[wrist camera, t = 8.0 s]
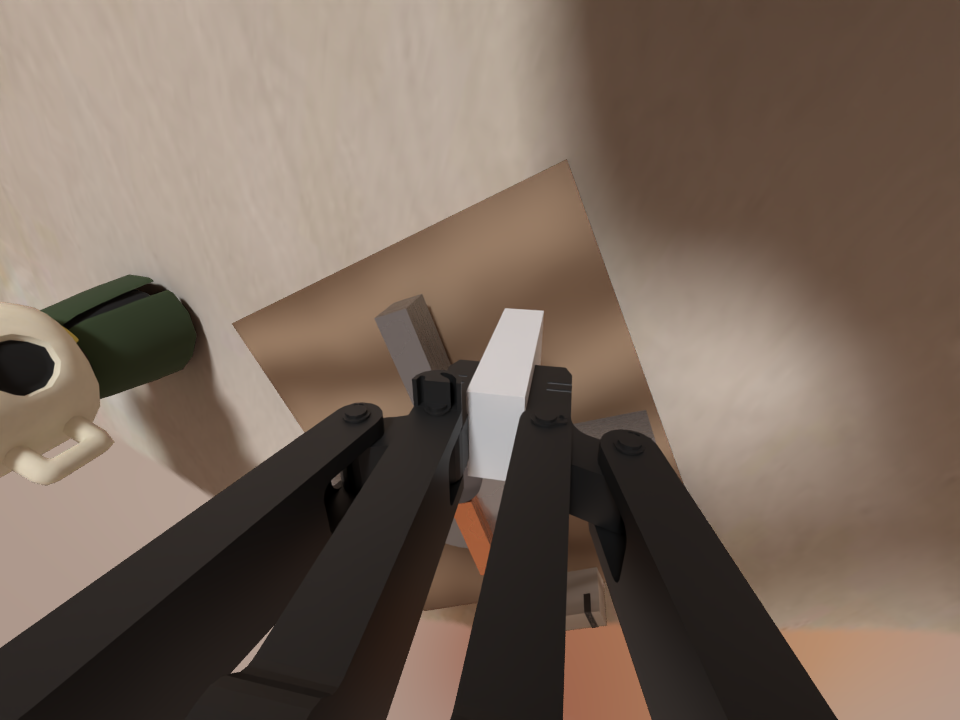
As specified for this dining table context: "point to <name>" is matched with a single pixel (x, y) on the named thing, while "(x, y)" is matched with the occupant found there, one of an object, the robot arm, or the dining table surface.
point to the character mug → (80, 369)
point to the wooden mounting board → (469, 337)
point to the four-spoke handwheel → (480, 500)
